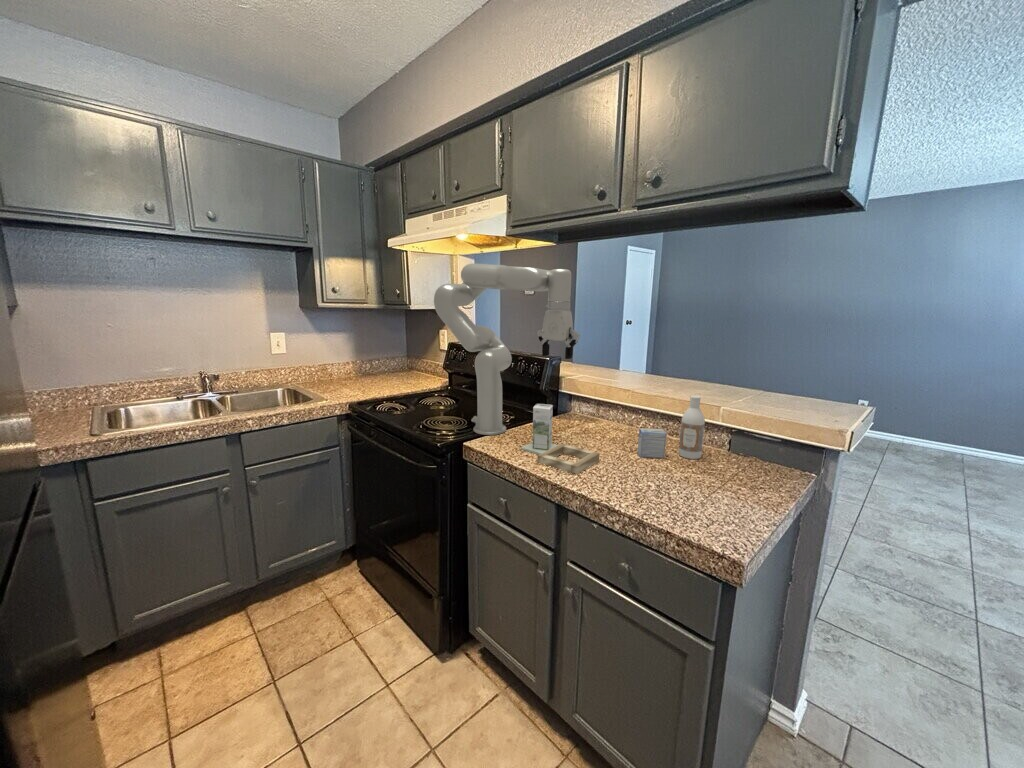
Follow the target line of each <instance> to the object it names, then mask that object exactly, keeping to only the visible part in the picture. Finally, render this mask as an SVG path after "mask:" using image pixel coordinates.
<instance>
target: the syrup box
mask: <svg viewBox="0 0 1024 768" xmlns="http://www.w3.org/2000/svg"><path fill="white" fill-rule="evenodd" d="M553 407H554V405H553V404H545V403H536V404H535V405H534V406H533V407H532V442H533V448H534V449H543V450H549V449H550V447H551V445H552V444H553V443H552V442H553V441H552V439H553V437H552V436H553V413H554V412H553V411H554V410H553V409H554V408H553Z"/></svg>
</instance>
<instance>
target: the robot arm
mask: <svg viewBox="0 0 1024 768" xmlns="http://www.w3.org/2000/svg"><path fill="white" fill-rule="evenodd" d="M463 266H464V265H463ZM460 278H461V281H462V283H461V284H460V283H444V284H441V285H440V286H439V287H437V289H436V290H435V293H434V295H433V304H434V305H433V306H434V309H435V312H436V313H437V316H438V317H439V318H440V320H441V321H442V322H443V323H444V324H445V326H446V327H447V328H448V329H449V330H450V332H451V333H452V334H453V336H454V337H455V338H456V340H457V341H458V342H459V344H460V345H461V346H462V347H463V348H464V349H465V350H466V351H468V352H470V353H475V352H478V353H477V355H476V356H475V359H474V370H475V376H476V391H477V392H476V393H477V400H476V402H477V404H476V405H477V410H476V411H477V413H476V414H477V415H474V416H473V417H472V418H471V422H472V423H474V424H475V425H474V426H473V432H475V434H478V435H483V436H495V435H501V434H504V433H505V432H506V431H507V426H506V425H504V424H503V381H502V377H501V372H502V371H505V370H506V369H508V368H509V367H510V366H511V364H512V361H513V360H512V359H513V356H512V354H511V352H510V350H509V348H508V347H507V346H506V345H505V344H504V342H503V341H502V340H501V338H500V337H499V336H498V334H496V333H495V331H493V329H491V328H490V327H488V326H486V325H476V324H475V323H474V322H473V321H472V320H471V319H470V317H469V316H468V315H467V314H466V313H465V312H464V311H463V310H462V309H460V308H459V307H467V306H469V305H471V304H472V303H473V302H475V300H476V299H478V298H479V297H480V296H481V295H482V294H483V293H484V292H485V291H486V290H487V289H491V290H499V291H500V290H501V291H504V290H514V291H515V290H516V291H526V292H548V293H547V302H546V303H545V307H546V308H547V310H545V312H544V317H543V322H542V328H541V329H539V330H537V331H536V335H537V337H538V340H539V341H540V344H541V345H542V346H541V347H542V348H541V349H542V351H541V353H542V357H546V356H549V355H550V342H551V341H553V342H563V343H565V346H566V347H565V351H564V352H565V353H564V359H565V360H570V359H572V358H573V349H574V348H575V345H577V344H578V341H579V339H580V337H581V334H580V333H578V332H577V331H576V330H574V326H573V322H574V321H573V316H572V315H573V314H572V313H573V312H572V311H571V293H572V272H571V270H569V269H567V268H566V269H565V268H555V269H551V270H547V269H542V268H537V267H526V266H512V265H511V266H510V265H505V264H490V263H474V262H472V263H468V264H466V265H465V266H464V267H463V268H462V269H461V272H460Z"/></svg>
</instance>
